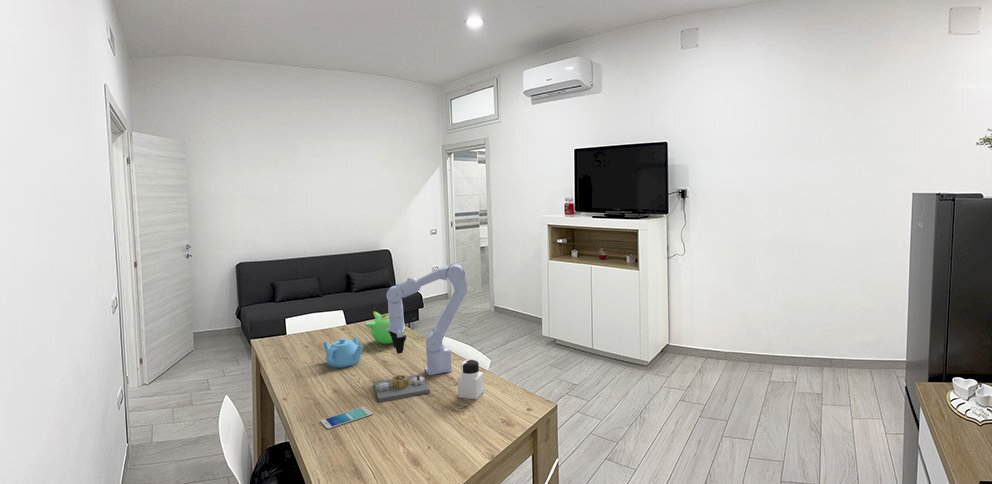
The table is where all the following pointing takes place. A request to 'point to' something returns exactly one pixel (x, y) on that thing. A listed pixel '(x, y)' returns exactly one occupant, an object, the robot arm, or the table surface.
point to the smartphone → (346, 417)
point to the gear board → (388, 392)
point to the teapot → (343, 353)
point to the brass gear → (400, 382)
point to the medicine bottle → (470, 380)
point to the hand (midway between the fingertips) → (398, 350)
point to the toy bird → (381, 328)
